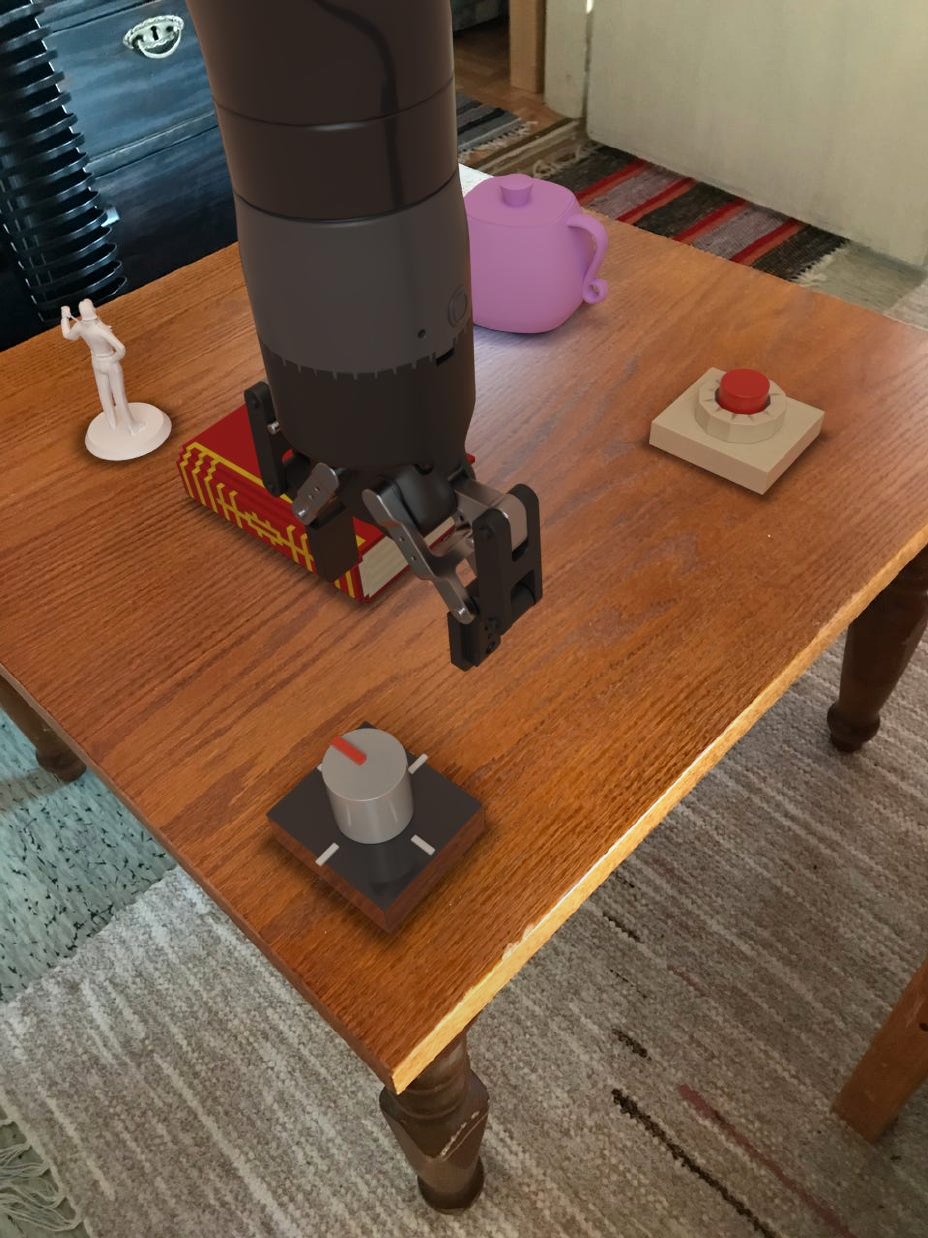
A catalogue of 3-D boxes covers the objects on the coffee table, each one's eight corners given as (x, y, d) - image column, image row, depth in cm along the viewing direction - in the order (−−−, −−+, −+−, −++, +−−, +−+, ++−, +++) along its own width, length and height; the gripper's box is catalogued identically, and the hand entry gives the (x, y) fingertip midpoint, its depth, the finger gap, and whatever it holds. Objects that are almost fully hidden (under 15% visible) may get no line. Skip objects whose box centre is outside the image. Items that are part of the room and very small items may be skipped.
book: (189, 502, 76) (172, 452, 72) (307, 419, 82) (297, 368, 78) (361, 610, 67) (351, 559, 64) (477, 508, 74) (475, 456, 70)
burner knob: (430, 802, 54) (424, 754, 50) (375, 859, 52) (364, 813, 48) (372, 760, 56) (362, 710, 52) (317, 813, 54) (302, 766, 50)
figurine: (188, 417, 83) (147, 287, 74) (136, 469, 78) (86, 338, 69) (120, 398, 85) (72, 270, 76) (66, 447, 81) (8, 318, 72)
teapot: (631, 288, 93) (643, 162, 84) (577, 364, 85) (584, 235, 76) (443, 247, 99) (436, 127, 90) (378, 315, 92) (362, 190, 83)
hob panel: (488, 826, 56) (487, 798, 54) (386, 940, 52) (379, 914, 50) (374, 744, 60) (368, 714, 58) (271, 843, 56) (260, 816, 54)
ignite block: (819, 434, 78) (831, 392, 75) (762, 495, 73) (772, 453, 70) (708, 388, 82) (715, 347, 79) (648, 443, 78) (653, 402, 75)
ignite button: (774, 398, 75) (779, 379, 74) (750, 422, 73) (755, 402, 72) (732, 381, 77) (736, 362, 75) (708, 404, 75) (711, 385, 74)
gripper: (147, 281, 35) (242, 589, 47) (446, 435, 29) (467, 745, 41) (300, 199, 39) (352, 505, 51) (597, 320, 32) (575, 637, 44)
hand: (403, 612), depth 46 cm, fingers open, 8 cm apart
